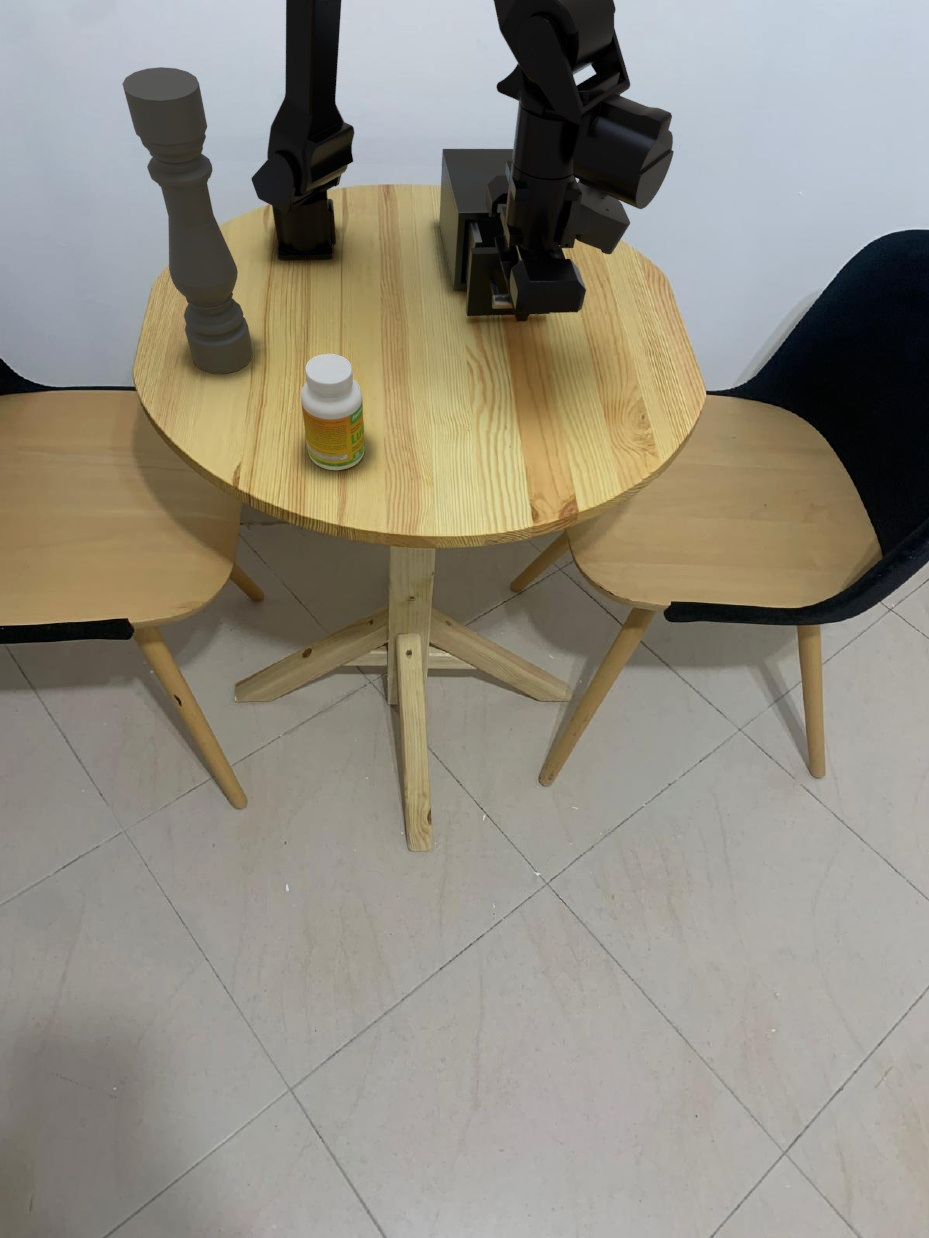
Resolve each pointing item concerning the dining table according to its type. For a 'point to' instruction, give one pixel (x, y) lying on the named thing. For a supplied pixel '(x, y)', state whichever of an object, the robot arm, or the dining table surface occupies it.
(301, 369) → the dining table surface
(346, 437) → the supplement bottle
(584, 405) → the dining table surface
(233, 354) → the candle holder
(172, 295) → the dining table surface
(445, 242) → the cabinet
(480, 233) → the drawer
